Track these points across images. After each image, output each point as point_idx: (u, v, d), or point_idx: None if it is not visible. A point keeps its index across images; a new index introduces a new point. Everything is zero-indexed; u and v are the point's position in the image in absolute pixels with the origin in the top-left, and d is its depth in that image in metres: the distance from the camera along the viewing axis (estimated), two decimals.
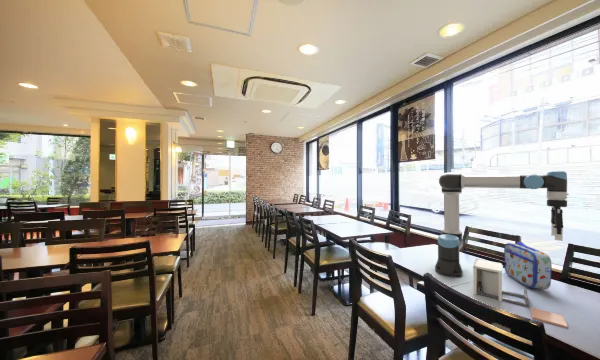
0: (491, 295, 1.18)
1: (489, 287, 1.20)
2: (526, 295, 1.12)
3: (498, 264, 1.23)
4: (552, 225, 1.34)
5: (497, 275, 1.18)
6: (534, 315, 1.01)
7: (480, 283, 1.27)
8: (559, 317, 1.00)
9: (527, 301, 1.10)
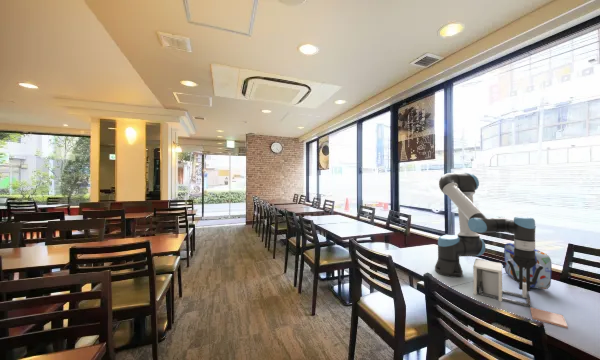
0: (493, 295, 1.18)
1: (490, 287, 1.20)
2: (528, 295, 1.11)
3: (498, 264, 1.23)
4: None
5: (498, 275, 1.18)
6: (534, 315, 1.01)
7: (481, 283, 1.27)
8: (559, 317, 1.00)
9: (529, 301, 1.09)
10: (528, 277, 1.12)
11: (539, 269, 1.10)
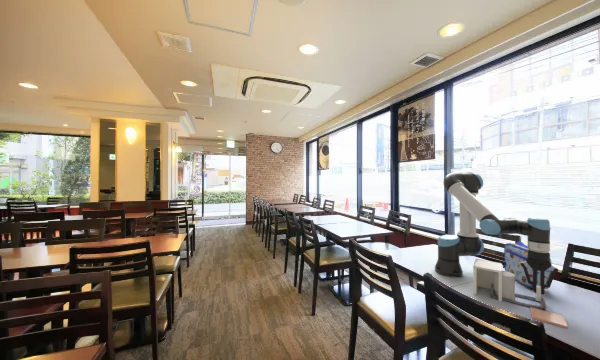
0: (505, 299, 1.15)
1: (502, 290, 1.16)
2: (542, 299, 1.08)
3: (498, 264, 1.23)
4: None
5: (510, 277, 1.15)
6: (534, 315, 1.01)
7: (493, 286, 1.23)
8: (559, 317, 1.00)
9: (544, 305, 1.06)
10: (542, 280, 1.09)
11: (554, 272, 1.07)
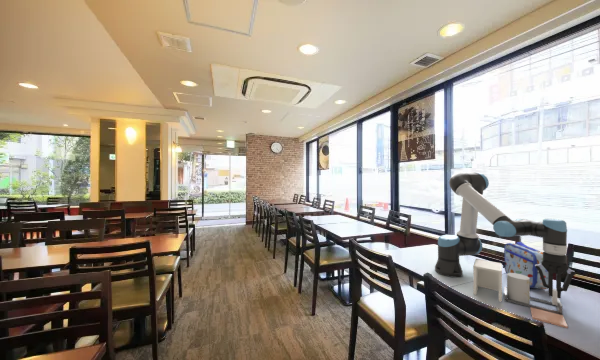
0: (520, 302, 1.11)
1: (517, 294, 1.13)
2: (559, 303, 1.05)
3: (498, 264, 1.23)
4: None
5: (525, 280, 1.12)
6: (534, 315, 1.01)
7: (506, 289, 1.20)
8: (559, 317, 1.00)
9: (561, 309, 1.03)
10: (559, 283, 1.06)
11: (571, 275, 1.03)
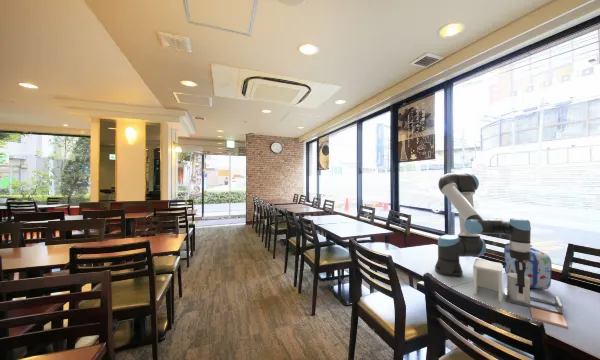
0: (520, 302, 1.11)
1: None
2: (559, 303, 1.05)
3: (498, 264, 1.23)
4: None
5: (525, 280, 1.12)
6: (534, 315, 1.01)
7: (506, 289, 1.20)
8: (559, 317, 1.00)
9: (561, 309, 1.03)
10: None
11: None
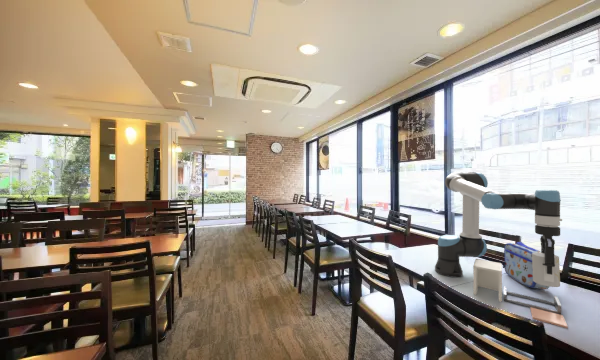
0: (519, 302, 1.11)
1: None
2: (558, 302, 1.05)
3: (498, 264, 1.23)
4: None
5: (555, 259, 0.97)
6: (534, 315, 1.01)
7: (505, 289, 1.20)
8: (559, 317, 1.00)
9: (560, 309, 1.03)
10: None
11: None
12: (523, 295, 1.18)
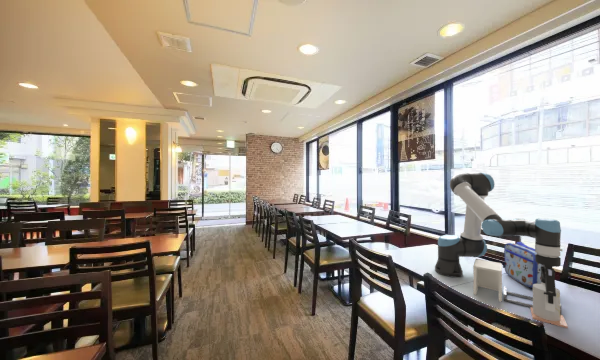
0: (519, 302, 1.11)
1: None
2: None
3: (498, 264, 1.23)
4: None
5: None
6: (534, 315, 1.01)
7: (505, 289, 1.20)
8: None
9: (560, 309, 1.03)
10: None
11: None
12: (523, 295, 1.18)
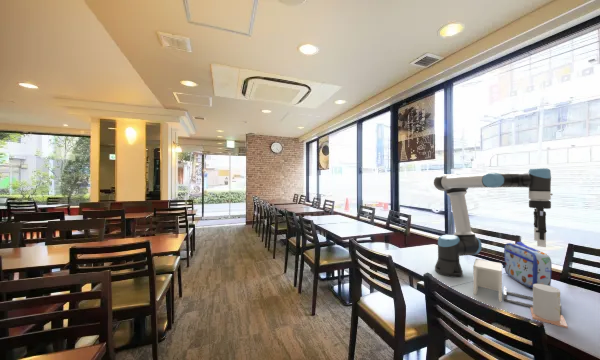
0: (519, 302, 1.11)
1: (545, 309, 0.99)
2: None
3: (498, 264, 1.23)
4: (535, 229, 1.19)
5: (556, 293, 0.97)
6: (534, 315, 1.01)
7: (505, 289, 1.20)
8: None
9: (560, 309, 1.03)
10: None
11: None
12: (523, 295, 1.18)
